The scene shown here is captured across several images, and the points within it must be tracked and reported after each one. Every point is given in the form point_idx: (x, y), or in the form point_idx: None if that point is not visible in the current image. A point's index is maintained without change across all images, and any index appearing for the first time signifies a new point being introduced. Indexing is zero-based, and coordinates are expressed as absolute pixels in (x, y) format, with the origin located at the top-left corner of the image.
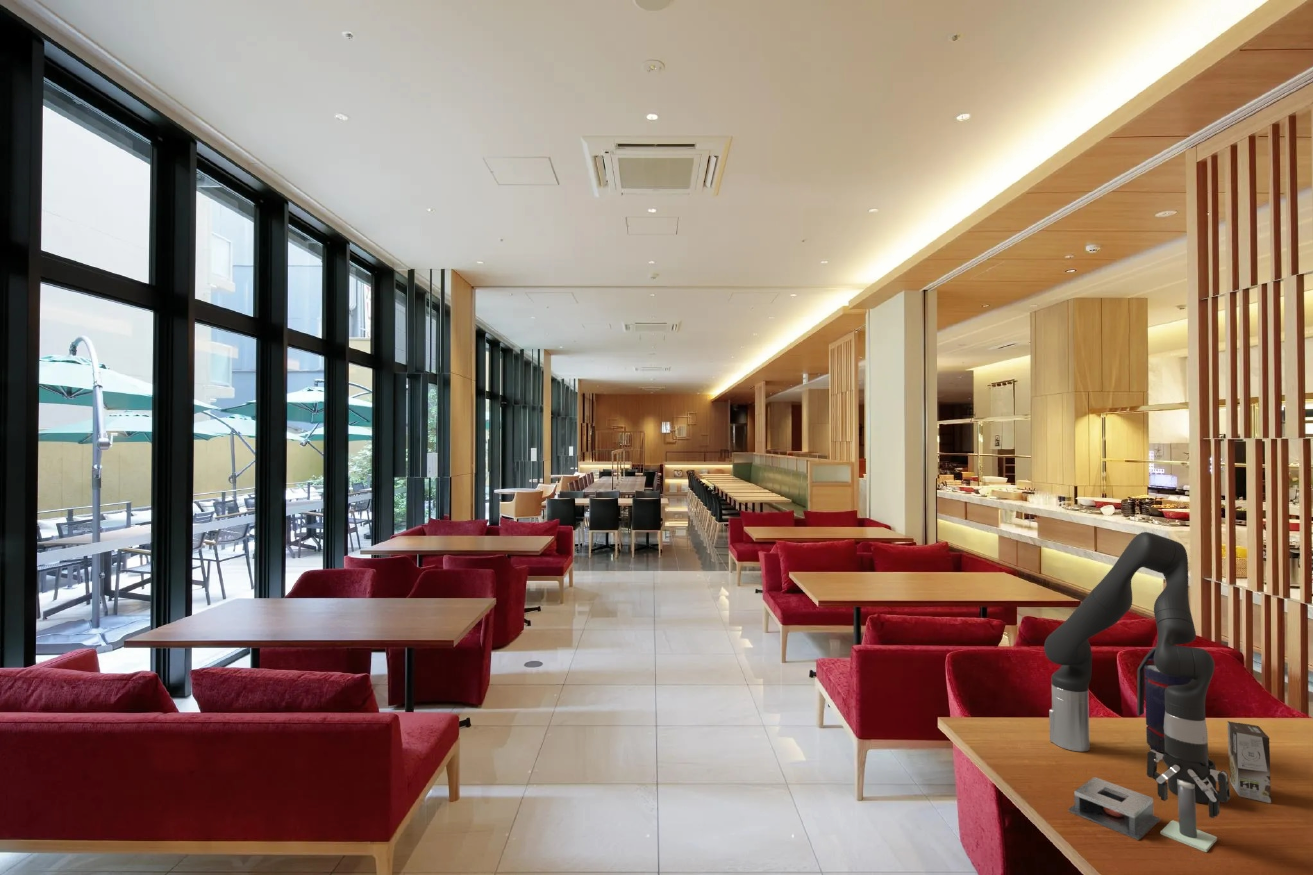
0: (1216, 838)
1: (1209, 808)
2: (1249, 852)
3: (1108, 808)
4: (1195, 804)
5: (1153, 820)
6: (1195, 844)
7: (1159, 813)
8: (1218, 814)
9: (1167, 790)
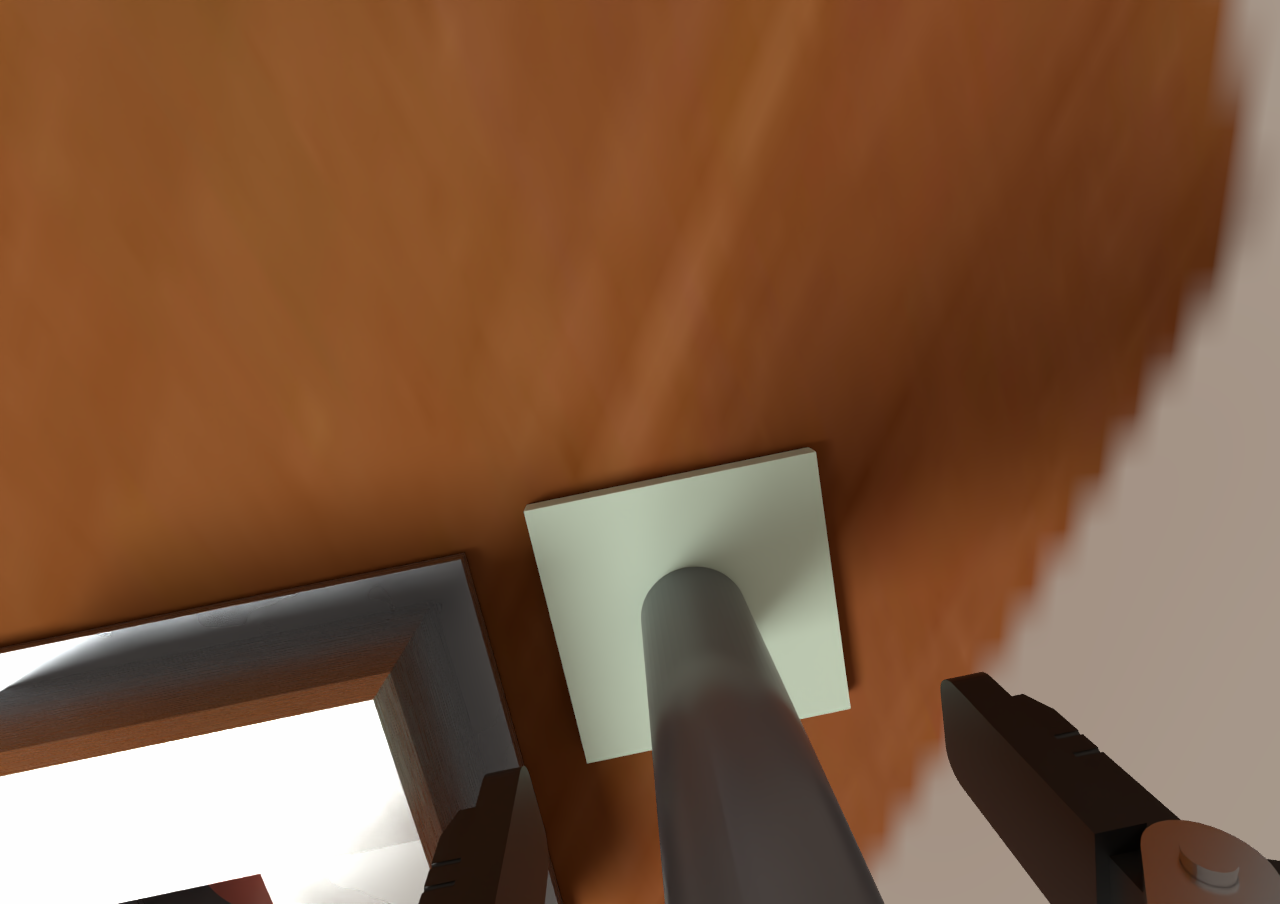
0: (814, 463)
1: (1021, 854)
2: (996, 414)
3: (253, 886)
4: (828, 782)
5: (466, 648)
6: None
7: (393, 443)
8: (1028, 701)
9: (508, 843)
